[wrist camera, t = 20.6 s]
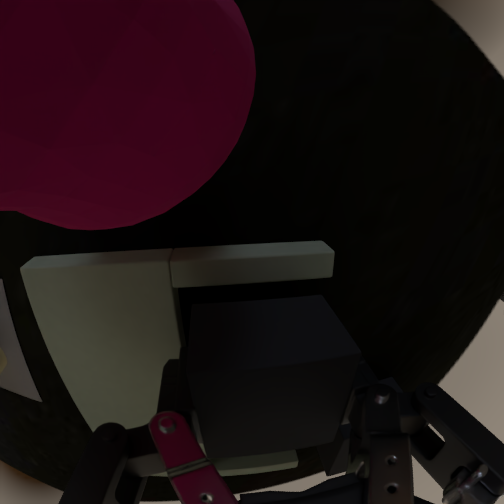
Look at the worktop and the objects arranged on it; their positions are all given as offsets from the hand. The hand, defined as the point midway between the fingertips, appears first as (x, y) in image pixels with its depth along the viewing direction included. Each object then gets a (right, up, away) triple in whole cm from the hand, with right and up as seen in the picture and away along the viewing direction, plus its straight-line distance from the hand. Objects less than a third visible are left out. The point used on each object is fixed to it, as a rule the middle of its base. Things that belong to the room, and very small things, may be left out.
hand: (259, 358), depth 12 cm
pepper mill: (-4, +10, -2) cm, 11 cm away
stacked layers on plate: (-19, -1, 0) cm, 19 cm away
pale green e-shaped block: (-4, -4, +3) cm, 6 cm away
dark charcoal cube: (0, 0, 0) cm, 1 cm away
